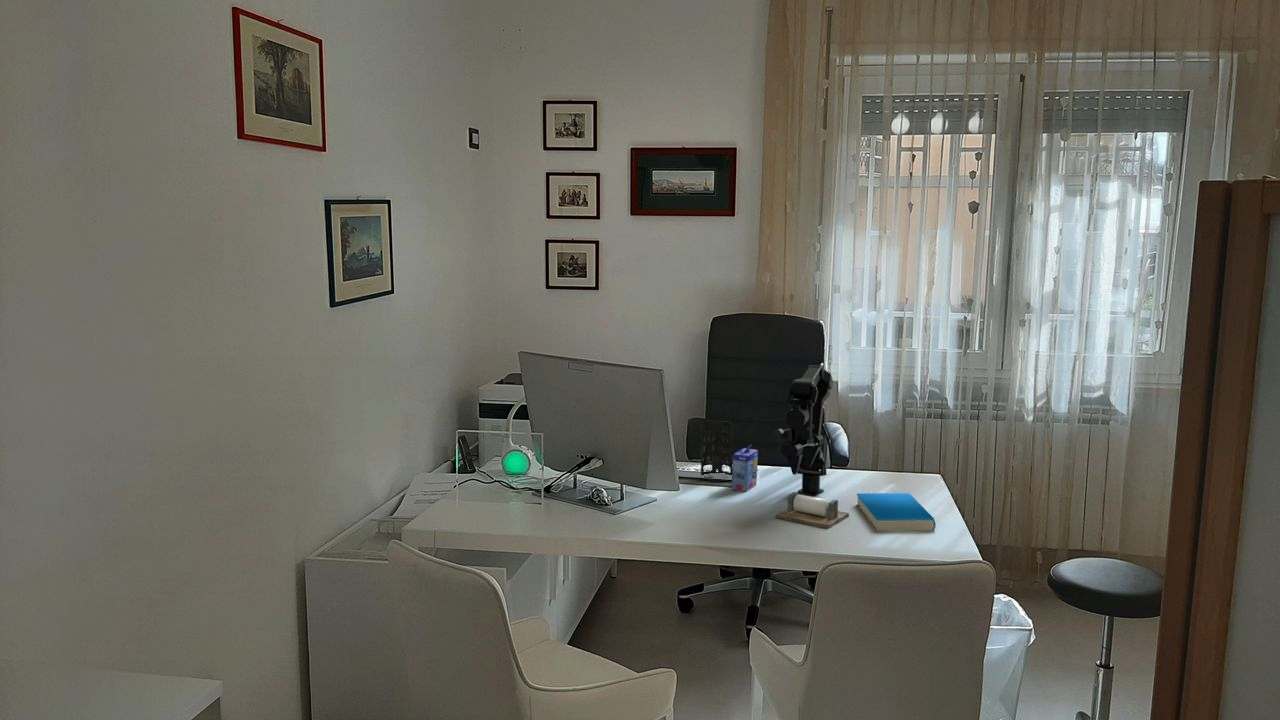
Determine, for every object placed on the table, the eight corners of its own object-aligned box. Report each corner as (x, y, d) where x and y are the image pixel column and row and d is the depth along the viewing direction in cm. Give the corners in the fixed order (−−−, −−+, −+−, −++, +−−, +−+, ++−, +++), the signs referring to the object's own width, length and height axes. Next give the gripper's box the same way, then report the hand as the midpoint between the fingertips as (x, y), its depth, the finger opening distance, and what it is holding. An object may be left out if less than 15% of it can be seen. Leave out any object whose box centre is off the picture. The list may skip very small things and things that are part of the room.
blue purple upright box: (747, 492, 307) (747, 449, 304) (731, 490, 309) (731, 447, 307) (758, 484, 315) (758, 442, 313) (742, 482, 318) (743, 440, 316)
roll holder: (797, 506, 292) (797, 487, 291) (848, 516, 282) (849, 496, 281) (775, 517, 281) (776, 498, 280) (828, 528, 271) (828, 508, 270)
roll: (800, 508, 286) (801, 492, 285) (831, 514, 280) (831, 498, 280) (793, 512, 282) (793, 496, 282) (823, 519, 276) (824, 502, 276)
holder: (701, 482, 318) (701, 424, 315) (699, 476, 326) (699, 419, 323) (733, 482, 319) (734, 424, 316) (731, 475, 326) (731, 419, 323)
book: (877, 519, 269) (855, 492, 293) (876, 533, 269) (855, 505, 294) (936, 518, 269) (910, 491, 294) (936, 532, 270) (910, 505, 294)
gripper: (793, 413, 301) (792, 461, 303) (764, 423, 286) (763, 473, 288) (825, 417, 294) (823, 466, 296) (797, 428, 279) (796, 479, 282)
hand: (801, 471), depth 291 cm, fingers open, 9 cm apart
